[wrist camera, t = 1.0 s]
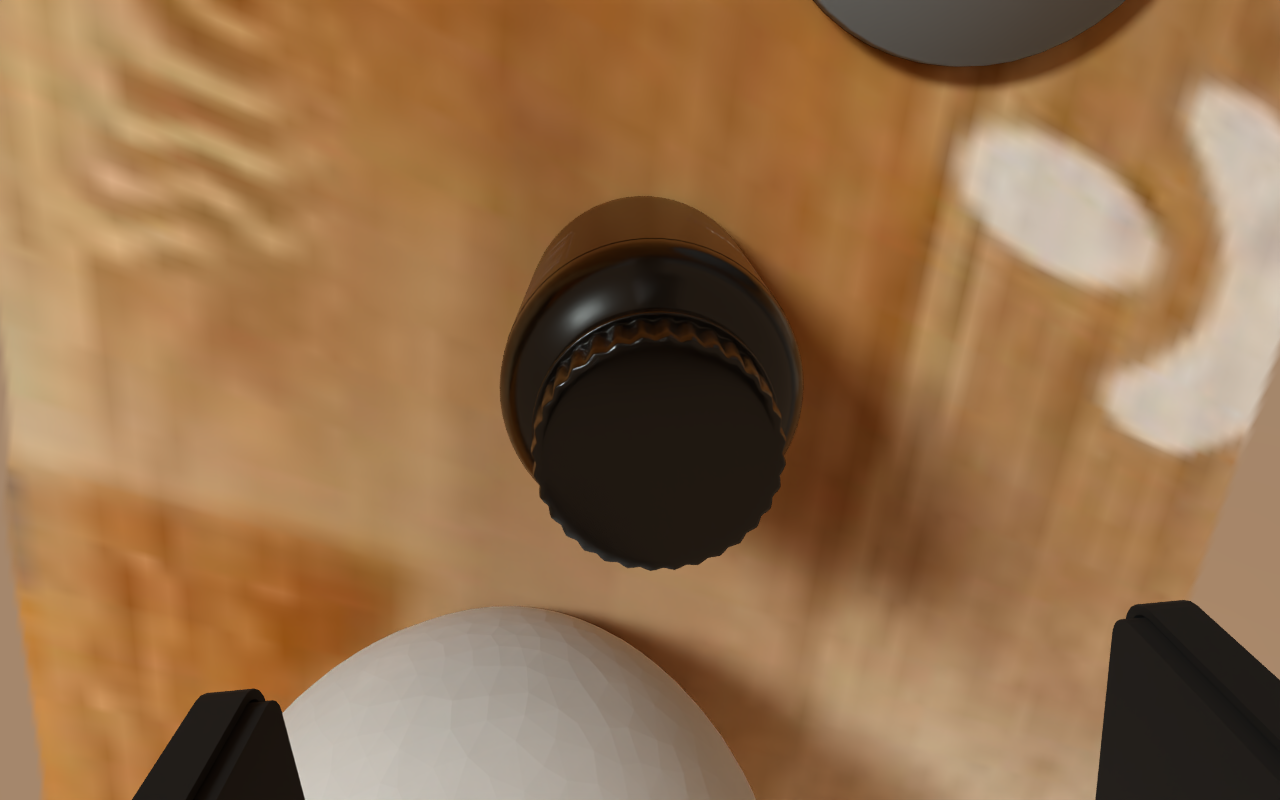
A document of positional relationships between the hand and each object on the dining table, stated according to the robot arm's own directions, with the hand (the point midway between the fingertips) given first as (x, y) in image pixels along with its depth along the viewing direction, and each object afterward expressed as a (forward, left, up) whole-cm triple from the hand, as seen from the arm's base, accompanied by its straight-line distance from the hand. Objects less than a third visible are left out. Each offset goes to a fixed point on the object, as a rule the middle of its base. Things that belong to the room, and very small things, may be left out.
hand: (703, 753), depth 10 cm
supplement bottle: (0, 0, -19) cm, 19 cm away
